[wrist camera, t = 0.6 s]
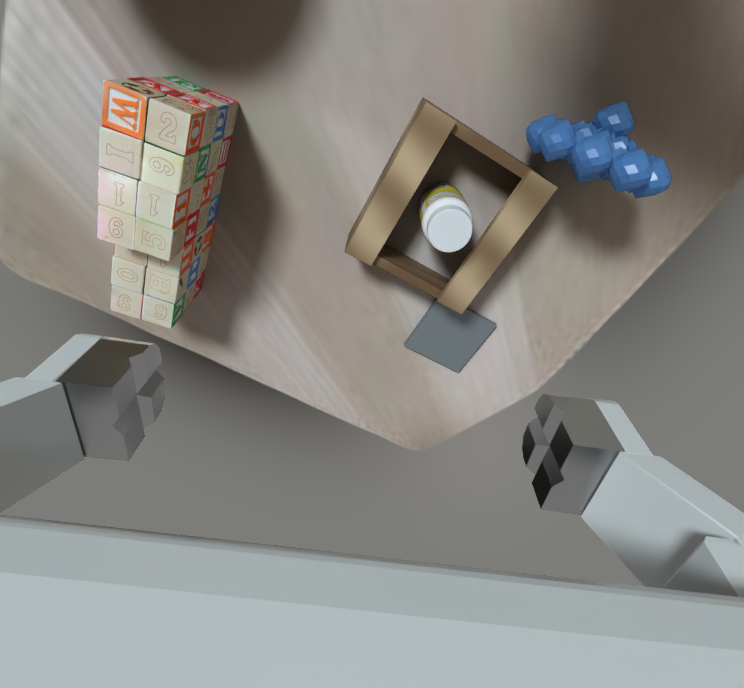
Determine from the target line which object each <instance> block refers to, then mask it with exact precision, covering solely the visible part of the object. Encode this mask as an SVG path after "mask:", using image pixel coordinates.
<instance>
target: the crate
mask: <svg viewBox="0 0 744 688" xmlns="http://www.w3.org/2000/svg"><path fill="white" fill-rule="evenodd" d="M450 133H452V134H453V135H455V136H457V137H458V138H460V139H461V140H463V141H464V142H466V143H467V144H469V145H471V146H472V147H474V148H475V149H477V150H478V151H480V152H481V153H483V154H485V155H486V156H488V157H489V158H491V159H492V160H494V161H496V162H497V163H499V164H500V165H502V166H503V167H505V168H506V169H508V170H510V171H511V172H513V173H514V174H516V175H517V176H519V177H521V178H522V180H521V181H520V182H519V184H518V185H517V187H516V188H515V189H514V191H513V192H512V194H511V195H510V197H509V198H508V199H507V201H506V202H505V204H504V205H503V206H502V208H501V209H500V211H499V212H498V213H497V215H496V216H495V218H494V219H493V220H492V222H491V223H490V225H489V226H488V227H487V229H486V230H485V232H484V233H483V235H482V236H481V237H480V239H479V240H478V242H477V243H476V244H475V246H474V247H473V249H472V250H471V251H470V253H469V254H468V256H467V257H466V258H465V260H464V261H463V263H462V264H461V265H460V267H459V268H458V270H457V271H456V272H455V274H454V275H453V277H452V278H451V280H449V279H448V278H446V277H444V276H442V275H440V274H439V273H437V272H435V271H433V270H431V269H429V268H428V267H426V266H424V265H422V264H420V263H419V262H417V261H415V260H413V259H411V258H409V257H408V256H406V255H404V254H402V253H400V252H399V251H397V250H395V249H393V248H391V247H389V246H388V245H386V244H384V243H385V242H386V240H387V238H388V236H389V235H390V233H391V231H392V230H393V228H394V226H395V225H396V223H397V221H398V220H399V218H400V216H401V215H402V213H403V211H404V210H405V208H406V206H407V204H408V203H409V201H410V199H411V198H412V196H413V194H414V193H415V191H416V189H417V188H418V186H419V184H420V183H421V181H422V179H423V177H424V176H425V174H426V172H427V171H428V169H429V167H430V166H431V164H432V162H433V161H434V159H435V157H436V156H437V154H438V152H439V150H440V149H441V147H442V145H443V144H444V142H445V140H446V139H447V137H448V135H449V134H450ZM557 188H558V187H557V186H555V185H554V184H553V183H552V182H550V181H549V180H548V179H546V178H545V177H544V176H543V175H541V174H540V173H538V172H537V171H535V170H534V169H532V168H531V167H529V166H527V165H526V164H524V163H523V162H521V161H520V160H518V159H517V158H515V157H514V156H512V155H511V154H509V153H507V152H506V151H504V150H503V149H501V148H500V147H498V146H497V145H495V144H494V143H492V142H491V141H489V140H488V139H486V138H484V137H483V136H481V135H480V134H478V133H477V132H475V131H474V130H472V129H471V128H469V127H468V126H466V125H465V124H463V123H461V122H460V121H458V120H457V119H455V118H454V117H452V116H451V115H449V114H448V113H446V112H445V111H443V110H441V109H440V108H438V107H437V106H435V105H434V104H432V103H431V102H429V101H428V100H426V99H425V98H422V100H421V102H420V103H419V105H418V107H417V109H416V111H415V113H414V115H413V116H412V118H411V120H410V122H409V124H408V126H407V128H406V129H405V131H404V133H403V135H402V137H401V139H400V140H399V142H398V144H397V146H396V148H395V150H394V152H393V153H392V155H391V157H390V159H389V161H388V163H387V165H386V166H385V168H384V170H383V172H382V174H381V176H380V177H379V179H378V181H377V183H376V185H375V187H374V189H373V190H372V192H371V194H370V196H369V198H368V200H367V202H366V203H365V205H364V207H363V209H362V211H361V213H360V214H359V216H358V218H357V220H356V222H355V224H354V226H353V227H352V229H351V231H350V233H349V235H348V240H347V244H346V248H345V253H347V254H349V255H351V256H353V257H355V258H357V259H359V260H360V261H362V262H364V263H366V264H368V265H370V266H371V265H372V264H374V265H376V266H378V267H380V268H381V269H383V270H385V271H387V272H389V273H391V274H393V275H395V276H396V277H398V278H400V279H402V280H404V281H406V282H408V283H410V284H411V285H413V286H415V287H417V288H419V289H421V290H423V291H425V292H426V293H428V294H430V295H432V296H434V297H436V298H437V300H438V302H439V303H441V304H443V305H445V306H447V307H449V308H451V309H452V310H454V311H456V312H458V313H460V314H462V313H463V312H464V310H465V309H466V308H467V307H468V305H469V304H470V303H471V301H472V300H473V299H474V297H475V296H476V295H477V293H478V292H479V291H480V289H481V288H482V287H483V286H484V284H485V283H486V282H487V280H488V279H489V278H490V276H491V275H492V274H493V272H494V271H495V270H496V268H497V267H498V266H499V265H500V263H501V262H502V261H503V259H504V258H505V257H506V255H507V254H508V253H509V251H510V250H511V249H512V247H513V246H514V245H515V244H516V242H517V241H518V240H519V238H520V237H521V236H522V234H523V233H524V232H525V230H526V229H527V228H528V226H529V225H530V224H531V223H532V221H533V220H534V219H535V217H536V216H537V215H538V213H539V212H540V211H541V209H542V208H543V207H544V205H545V204H546V203H547V202H548V200H549V199H550V198H551V196H552V195H553V194H554V192H555V191H556V190H557Z"/></svg>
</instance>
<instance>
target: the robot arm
mask: <svg viewBox="0 0 744 688" xmlns="http://www.w3.org/2000/svg"><path fill="white" fill-rule="evenodd" d="M161 362H162V359H161V353H160V349H159V347H158V346H156V344H153V343H146V342H140V341H133V340H126V339H119V338H113V337H104V336H98V335H90V334H77V335H75V336H74V337H72V338H71V339H70V340H69V341H68V342H67V343H65V344H64V345H63V346H62V347H61V348H59V350H57V351H56V352H55V353H54V354H52V355H51V356H50V357H49V358H48V359H47V360H45V361H44V362H43V363H42V364H41V365H40V366H38V367H37V368H36V369H35V370H34V371H33V372H31V373H30V374H29V375H28V376H27V377H25V378H18V377H16V378H13V379H10V380H7V381H4V382H1V383H0V513H1V512H2V511H4V510H5V509H7V508H8V507H10V506H12V505H13V504H15V503H16V502H18V501H19V500H21V499H23V498H24V497H26V496H27V495H29V494H30V493H32V492H33V491H35V490H37V489H38V488H40V487H41V486H43V485H44V484H46V483H47V482H49V481H51V480H52V479H54V478H55V477H57V476H58V475H60V474H61V473H63V472H65V471H66V470H68V469H69V468H71V467H72V466H74V465H76V464H77V463H79V462H80V461H82V460H84V457H94V458H104V459H115V460H126V461H129V460H130V458H131V457H132V455H133V454H134V452H135V451H136V449H137V448H138V446H139V445H140V443H141V442H142V440H143V439H144V437H145V435H144V429H143V427H145V426H147V425H149V424H151V423H153V422H155V420H156V419H157V417H158V416H159V414H160V412H161V410H162V407H163V404H164V400H165V390H166V386H165V379H164V377H163V376H162V375H161V374H160V373H159V372H158V371H157V370H156V369H157V367H158V366H159V365H160V363H161ZM535 411H536V413H537V416H538V417H537V418H536V419H534V420H533V421H531V422H530V423H528V425H527V427H526V430H525V433H524V435H523V445H522V450H523V458H524V461H525V464H526V467H527V468H529V469H530V470H531V471H532V472H533V473H534V474H535V477H534V479H533V481H532V485H533V488H534V491H535V494H536V497H537V500H538V502H539V505H540V508H541V509H544V510H551V511H558V512H564V513H571V514H579V515H582V516H581V517H582V519H583V520H584V521H585V522H586V523H587V524H588V525H589V526H590V527H591V528H592V529H593V531H594V532H595V533H596V534H597V535H598V536H599V537H600V538H601V539H602V540H603V542H604V543H605V544H606V545H607V546H608V547H609V548H610V549H611V550H612V551H613V552H614V554H615V555H616V556H617V557H618V558H619V559H620V560H621V561H622V562H623V563H624V565H625V566H626V567H627V568H628V569H629V570H630V571H631V572H632V573H633V574H634V576H635V577H636V578H637V579H638V580H639V581H640V582H641V583H642V584H643V585H644V586H645V587H644V586H635V585H626V584H617V583H608V582H599V581H589V580H580V579H571V578H563V577H554V576H545V575H536V574H527V573H518V572H509V571H501V570H492V569H482V568H473V567H465V566H456V565H447V564H438V563H429V562H420V561H411V560H402V559H393V558H384V557H375V556H366V555H356V554H348V553H339V552H330V551H321V550H312V549H303V548H294V547H285V546H276V545H268V544H258V543H250V542H249V543H248V542H240V541H232V540H222V539H214V538H213V539H212V538H204V537H195V536H187V535H177V534H168V533H160V532H150V531H141V530H133V529H123V528H114V527H105V526H97V525H87V524H79V523H70V522H60V521H51V520H43V519H33V518H24V517H16V516H7V515H0V688H744V513H743V512H741V511H740V510H738V509H737V508H735V507H734V506H732V505H731V504H729V503H728V502H727V501H725V500H724V499H722V498H721V497H719V496H718V495H716V494H715V493H713V492H712V491H710V490H709V489H707V488H706V487H704V486H703V485H702V484H700V483H698V482H697V481H696V480H694V479H693V478H691V477H689V476H688V475H687V474H685V473H684V472H682V471H681V470H680V469H678V468H676V467H675V466H674V465H672V464H671V463H669V462H667V461H666V460H665V459H663V458H662V457H659V456H653V455H652V453H651V452H650V450H649V449H648V447H647V446H646V444H645V443H644V442H643V440H642V438H641V437H640V435H639V434H638V432H637V431H636V429H635V428H634V426H633V425H632V424H631V422H630V421H629V419H628V418H627V416H626V415H625V413H624V412H623V410H622V409H621V407H620V406H619V405H618V404H617V403H615V402H614V401H608V400H598V399H583V398H574V397H565V396H557V395H548V394H543V395H542V396H541V397H540V398H539V399H538V402H537V404H536V406H535Z"/></svg>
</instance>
